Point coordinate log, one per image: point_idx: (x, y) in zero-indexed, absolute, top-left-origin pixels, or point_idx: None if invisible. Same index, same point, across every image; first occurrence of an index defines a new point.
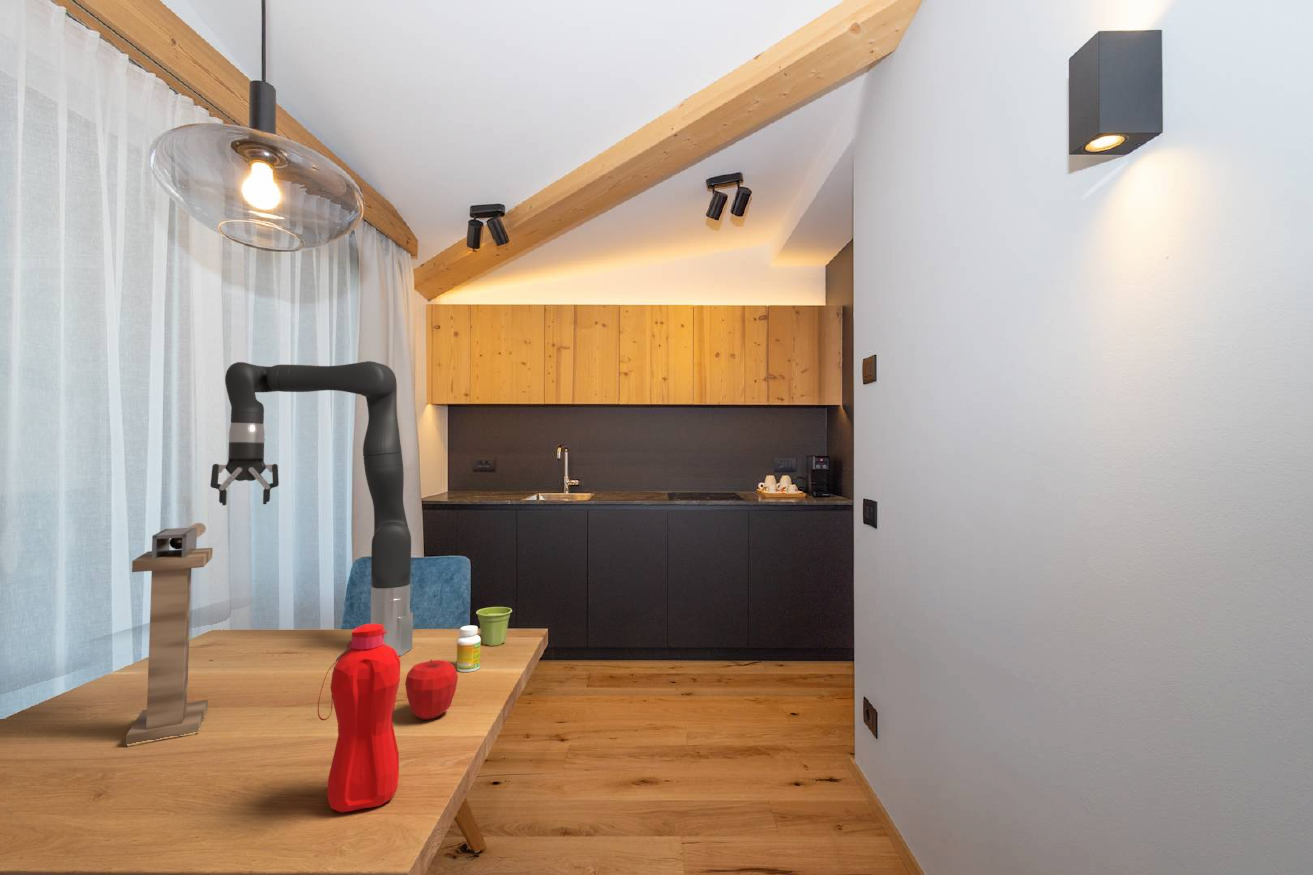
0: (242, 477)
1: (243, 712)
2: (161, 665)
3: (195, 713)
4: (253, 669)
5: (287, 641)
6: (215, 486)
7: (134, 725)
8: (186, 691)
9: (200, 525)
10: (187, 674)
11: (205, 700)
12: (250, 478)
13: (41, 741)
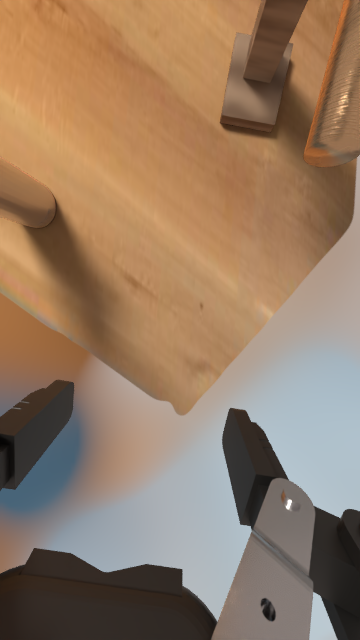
0: (127, 627)
1: (192, 85)
2: None
3: (235, 70)
4: (170, 240)
5: (129, 329)
6: (346, 520)
7: (284, 74)
8: (252, 42)
9: (355, 53)
10: (258, 23)
11: (223, 113)
12: (38, 591)
13: None
